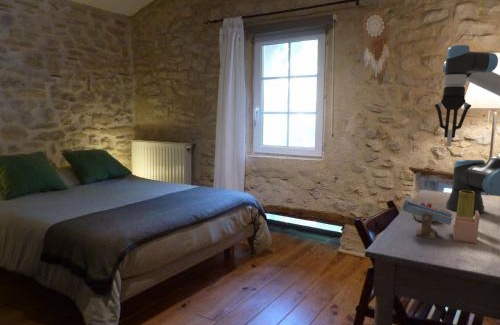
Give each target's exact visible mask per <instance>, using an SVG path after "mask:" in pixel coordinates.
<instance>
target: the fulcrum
mask: <svg viewBox="0 0 500 325" xmlns="http://www.w3.org/2000/svg"><path fill="white" fill-rule="evenodd" d="M432 223H433V222H432V214H428V213H423V217H422V221H421V225H420V226H419V225H418V226H417V229H416V233H415V236H416V237H417V238H418V237H419V238H426V239H432V240H436V228H433V227H432Z"/></svg>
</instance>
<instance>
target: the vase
mask: <svg viewBox="0 0 500 325" xmlns="http://www.w3.org/2000/svg"><path fill="white" fill-rule="evenodd" d="M474 200H475V192H473V191H466V190H460V191H459V199H458V206H457V211H456V214H455V217H456V216H458V217H465V218H473V219H474V214H473V212H474ZM454 225H456V219H455V220H454Z"/></svg>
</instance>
